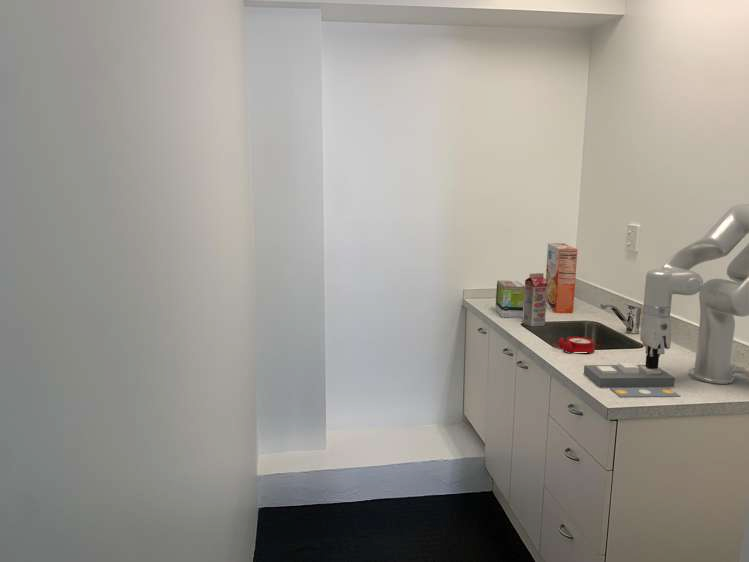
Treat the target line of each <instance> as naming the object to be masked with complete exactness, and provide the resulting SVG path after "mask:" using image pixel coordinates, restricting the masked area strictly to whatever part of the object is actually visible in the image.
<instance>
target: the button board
mask: <svg viewBox="0 0 749 562" xmlns="http://www.w3.org/2000/svg"><path fill="white" fill-rule="evenodd" d="M636 365H637V366H638V367H639V374H624V373H622V372H621V371H619V370H618V366H619V364H601V365H600V364H591V365H589V364H585V365H583V366H584V367H583V375H584V374H585V375H586V376H587V378H588V380H590V381H591V380H592V381H593V382H592V381H591V382H592V383H593V384H594V385H596V386H597V385H598V386H599V387H603V389H605V388H604V387H606V388H607V389H610V388H611V387H612V388H675V381H676V377H675V376H673V375H671V374H670V373H668V372H667V371H665V370H663V369H662V368H660V367H659V366H658V369H659V370H661V374H646V373H644V372H643V371H641V370H640V366H645V365H646V364H636ZM597 366H611V367H612V368H614V369H615V370H616V371H617V374H601V373H600V372H599V371H597V370H596V368H597ZM585 375H584V376H585ZM586 376H585V377H586ZM598 386H597V387H598ZM599 387H598V388H599ZM608 387H609V388H608Z"/></svg>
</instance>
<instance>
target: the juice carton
mask: <svg viewBox="0 0 749 562" xmlns="http://www.w3.org/2000/svg"><path fill="white" fill-rule="evenodd" d="M547 284H548V282H547V281H546V278H545V277H544V272H543V273H542V272H541V273H537V272H536V273H529V277H528V278H526V279H525V280H524V286H525V291H524V306H523V317H522V323H523V324H525V325H528V326H529V327H538V326H539V327H540V326H546V325H545V324H546V314H547V312H546V311H547V305H546V299H547Z"/></svg>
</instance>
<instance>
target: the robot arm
mask: <svg viewBox="0 0 749 562" xmlns="http://www.w3.org/2000/svg"><path fill="white" fill-rule="evenodd" d="M748 234H749V203H739V204H735V205H732V206H731V207H730V208H729V209H727V211H726V212H725V213H724V214H723V215H722V216H721V217H720V218H719V219H718V220H717V222H716V223H715V224H714V225H712V227H711V228H710V229H709V230H708V231H707V232H706V234H704V235H703V236H702V237H701V238H699V239H698V240H696V241H694V242H692V243H690V244H689V245H687V246H684V247H683V248H681V249H680V250H678V251H677V252H675V254H673V255H672V256H670V258H669V259H668V260H667V261H666V262H665V263H664V264H663V266H662V267H661V268H660V269H651V270H647V272H646V275H645V284H644V297H643V305H642V306H643V307H642V308H643V309H642V318H641V319H642V320H641V325H640V334H639V335H640V337H639V338H640V339H639V340H640V342H642V345H643V346H644V347H645V354H646V355H645V364H644V365H645V366H646V367H647V368H648V369H657V368H658V367H659V359H660V357H661V355H664V354H665V353H666V352H665V350H669V349H670V348H671V345H672V344H671V342H672V320H671V311H672V310H671V309H672V298H673V295H680V296H694V295H697V294H698V296H699V297H698V301H699V309H700V311H699V313H700V314H699V316H700V317H699V326H698V333H697V342H696V343H697V344H696V352H695V361H694V367H692V368H690V369H688V372H687V373H688V376H689V377H691V378H693V379H695V380H697V381H700V382H704V383H708V384H716V385H717V384H718V385H726V384H727V385H728V383H729V384H732V383H734V381H735V376H734V374H743V373H745V368H744V367H743V366H738V367H737V366H735V365H734V364H732V365H731V361H732V360H731V358H732V351H733V345H734V344H733V343H734V336H735V331H736V330H735V329H736V328H735V327H736V324H735V323H736V322H735V317H743V318H744V317H747V316H749V242H748V243H747V244H746V246H745V247H744V248H743V249H741V251H740V252H739V253H738V254H737V255H736V256H735V257H734V258H733V259H732V260H731V261H730V263H729V264H728V266H727V268H726V275H727V276H728V278H729V280H727V279H724V278H712V279H709V280H707V281H705V282H704V279H703V277H702V276H701V275H700V274H699V273H697V272H696V271H693V270H691V269H692V268H694V267H696V266H697V265H700V264H702V263H705V262H710V261H714V260H718V259H721V258H724V257H726V256H728V255H729V254H730V253H731V252H732V251H733V250H734V249H735V247H736V246H737V245H738V244H739V243H740V242H741V241H742V240H743V239H744V238H745V237H746V236H747V235H748ZM731 280H732V281H731Z"/></svg>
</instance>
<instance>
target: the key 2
mask: <svg viewBox="0 0 749 562" xmlns="http://www.w3.org/2000/svg"><path fill="white" fill-rule="evenodd" d="M640 370H641V371H643V372H644V373H646V374H661V370H659V369H658V368H657V369H648V368H647V367H646V366H640Z"/></svg>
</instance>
